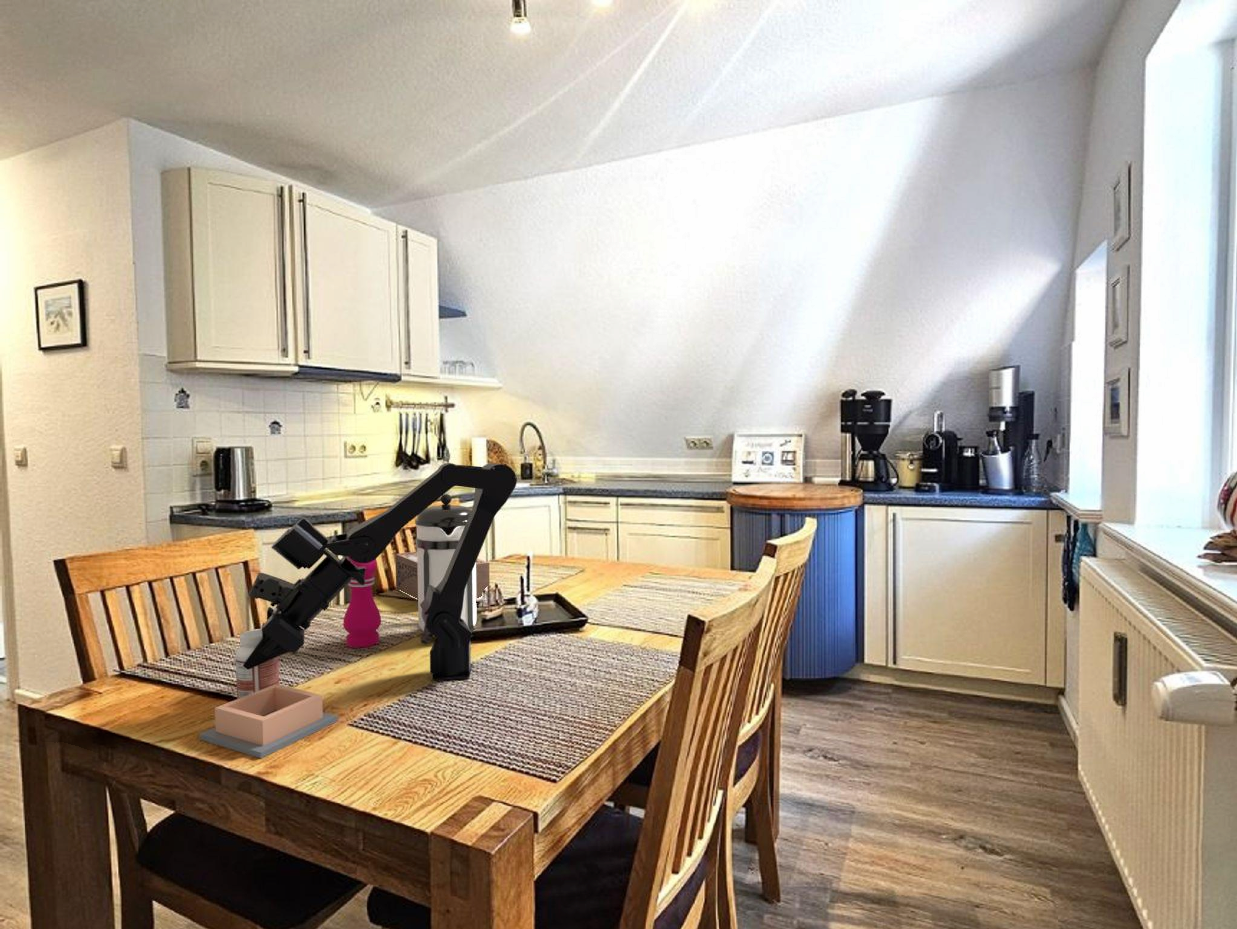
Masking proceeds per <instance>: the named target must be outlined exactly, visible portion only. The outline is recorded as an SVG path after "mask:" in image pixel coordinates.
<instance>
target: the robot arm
mask: <svg viewBox="0 0 1237 929" xmlns="http://www.w3.org/2000/svg"><path fill="white" fill-rule="evenodd" d="M517 483H518V478H517V475H516V473H515V471H514V470H513V469H512V467H510V466H509V465H507V464H503V463H498V462H489V463H487V464H484V465H483V466H475V465H464V464H455V463H451V462H446V463H445V462H444V463H442V464H441V465H440V466H439V467H438V469H436V471H434V472H433V473H432V474H431V475H429V476H427V478H426V479H424V480H423V481H422V482H420V483H419V484H418V485H417V486H415V487H414V488H413V489H412V490H410V491H409V492H408V493H407V494H406V495H404V496H402V498H400V499H399V500H398V501H396V502H395V503H394V504H392V506H390V507H389V508H387V509H386V510H384V511H382V512H381V513H379V514H375V515H374V516H372V517H370V518H368V519H366V520H365V521H363V522H361V523H359V524H357V525H355V526H354V527H352V528H350V530H349V531H348V532H347V533H346V532H345V533H341V534H333V535H330V536H326V535H325V534H323V533H322V532H321V531H320V530H319V529H317V527H315V526H314V525H313V524H312V522H311V521H310V520H309V519H307V518H306V517H302V518H301V519H300V520H299V521H297V522H296V523H295V524H294V525H293V526H292V527H290V528H287V530H285V532H284V533H283V534H281V536H279V538H278V539H277V540H276V541H275V542H274V543H273V544H272V545H271V546H270V548H271V549H273V550H274V551H275V552H276V553H277V554H278V555H280V556H281V557H282V558H283V559H285V560H286V561H287V562H288V563H290V564H291V565H293V567H295V568H296V569H297V570H300V569H302V568H303V569H305V570H306V569H307V570H310V569H312V567H313V566H314V565H316V564H317V562H319V561H320V559H322V557H323V556H325V557H324V558H323V559H322V561H320V562H319V563H318V564H317V565H316V566H315V567H314V568H313V570H311V571H310V572H309V573H308V574H307V575H306V576H305V577H304V578H303V577H302V578H299V579H298V580H297V581H296V582H295V583H293V582H290V581H287V580H286V579H282V578H279V577H276V576H273V575H270V574H267V573H264V572H258V574H257V576H256V578H255V580H254V582H253V585H252V586H251V588H250V590H249V593H248V596H249V597H251V598H253V599H256V600H257V599H260V600H264V601H267V602H270V606H271V607H270V606H268V608H267V610H266V621H265V622H263V623H262V626H261V629H262V639H261V640H260V642H259V643H258V644H257V646H256V647H255V649H254V650H253V651H252V653H251V654H250V656H249V657H248V658H247V660H246V661H245V663H244V664H243V667H245V668H246V669H251V668H253V667H255V666H258V665H260V664H262V663H264V662H266V661H268V660H271V659H273V658H275V657H278V658H279V657H280V656H282V655H285V654H287V653H291V654H292V653H293V654H296V653H297V652H298V651H299V650H300V649H301V648H303V646H304V645H305V636H306V634H305V631H307V630H308V629H309V628H310V627H311V622H312V621H313V620H315V618H317V616H318V615H319V614H320V613H321V612H322V611H324V612H325V611H326V610H327V609H329V607H330V603H331V602H332V601H333V600H334V599H335V598H336V597H337V596H338V595H339V594H340V593H341V592H342V591H343V590H344V588H346V587H347V585H348V584H349V582H350V581H351V580H352V579H355V580H356V581H357V582H358V583H359V584H361V585H364V584H365V579H364V576H365V571H366V568H365V567H364V566H363V567H357V566H356V565H354V564H353V563H352V562H351V561H350V560H348V559H349V558H350V559H352V560H353V561H355V562H357V563H370V562H372V561H373V560H376V559H377V558H378V557H379V556H380V555H381V554H382V553H383V552H384V551H385V549H386V548H387V547H388V546H389V545H390V544H391V542H392V541H393V540H394V538H395V537H396V536H397V534H398V533H399V532H400V531H401V529H403V528H404V527H405V526H406V525H408V524H409V523H410V522H411V521H412V520H415V519H416V518H417V516H418V515H419V514H420V513H421V512H422V511H424V510H425V509H426V508H428V507H431V505H432V504H434V503H435V502H436V501H438V500H439V499H441V497H442V495H444V494H447V492H449V491H450V490H451V489H452V488H454V487H460V488H461V487H462V488H471V489H474V495H473V502H472V508H471V510H472V511H471V513H470V515H469V518H468V520H467V523H466V525H465V527H464V530H463V532H462V535H461V537H460V539H459V542H458V544H457V547H456V549H455V552H454V554H453V556H452V559H451V561H450V564H449V566H448V568H447V571H446V573H445V576H444V578H443V579H442V581H441V582H440V583H439V584H438V586H437V587H436V588H435V587H433V586H431V585H429V586H428V589H427V593H426V597H425V599H424V600H423V602H422V603H421V604H420V606H421V608H422V619H423V621H424V623H425V625H426V627H427V630H428V631H429V632H430V633H431V634H432V635H433V637H434V639H433V643H432V646H431V648H430V650H429V671H430V672H429V673H430V674H432V675H431V680H433V681H440V680H460V679H469V678H470V677H471V673H472V668H473V663H472V661H471V657H472V656H471V653H472V652H471V651H472V650H471V649H472V648H471V647H472V646H471V641H472V640H471V637H472V636H473V635H472V632H471V631H470V629H469V628H468V626H467V625H466V623H465V622H464V620H463V619H461V613H462V609H463V601H464V591H465V587H466V585H467V582H468V580H469V577H470V575H471V573H472V570H473V568H474V565H475V563H476V560H477V559H479V555H480V553H481V551H482V548H483V547H484V546H483V545H484V543H485V541H486V538H487V536H488V534H489V530H490V529H491V526H492V523H493V521H494V520H495V516H496V515H497V513H499V511H500V510H501V509H503V507H504V506H505V504H507V503H506V502H507V501H508V500H509V499H510V497H511V495H512V494H513V492H514V491H515V489H516V487H517ZM338 556H341V557H342V558H339V557H338ZM273 607H275V608H273Z"/></svg>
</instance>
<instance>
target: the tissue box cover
mask: <svg viewBox="0 0 1237 929" xmlns="http://www.w3.org/2000/svg"><path fill="white" fill-rule="evenodd" d="M489 585H490V562H489V561H486V560H483V559H479V558H477V560H476V598H479V597H481V596H482V592H483V591H484V589H485V588H486V587H487V586H489ZM395 590H396V591H397V590H401V591H403V592H405V593H407V594H409V595H411V596H413V597H415V598H417V599H418V566H417V551H409V552H401V553H395Z"/></svg>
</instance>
